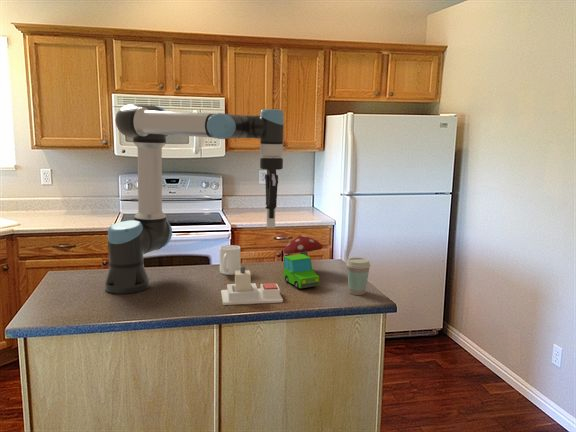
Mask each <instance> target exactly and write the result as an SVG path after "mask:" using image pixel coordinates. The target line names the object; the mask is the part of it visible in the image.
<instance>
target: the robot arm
mask: <svg viewBox="0 0 576 432" xmlns="http://www.w3.org/2000/svg"><path fill="white" fill-rule="evenodd" d="M114 121H115V126H116V128H117V130H118V132H120V133H121V134H122V135H123V136H125V137H128V138H132V143H133V144H134V146H136V148H137V197H138V198H137V200H138V203H137V204H138V205H137V206H138V207H137V208H138V209H137V210H138V211H137V213H136V214H134V217H133V218H134V219H133V220H132V219H131V220H125V221H122V220H121V221H119V222H115V223H113V224H111V225H110V226H109V227H108V229H107V248H108V249H107V250H108V262H109V263H108V265H109V266H108V272H107V274H106V279H105V281H104V290H105V292H108V293H111V294H118V295H119V294H120V295H123V294H134V293H139V292H142V291H145V290H147V289H149V287H150V278H149V276H148V274H147V271H146V268H145V266H144V255H145V254H148V253H150V252H154V251H158V250H159V251H160V249H162V248H163V247H165V246H168V244H169V243H170V242H171V239H172V237H173V228H172V225H171V224H170V222H169V221H168V220H167V215H166V213H164V212H163V184H162V183H163V179H162V177H163V169H162V168H163V161H162V160H163V157H162V154H163V152H162V151H163V150H162V149H163V147H164V146H165V145H166V143H167V137H169V136H181V137H183V136H185V137H199V138H200V137H201V138H212V139H218V140H226V139H258V140H259V139H260V141H259V142H260V144H259V156H261V157H260V159H259V162H260V163H259V166H260V167H259V168H260V169H261V170H266V174H264V180H265V181H264V182H265V210H266V229H270V228H271V229H272V228H273V229H274V228H276V208H277V200H278V187H279V185H278V184H279V175H278V174H277V170H279V171H280V170H283V168H284V158H283V155H284V151H285V150H286V148H285V146H284V128H285V127H284V125H285V122H284V112H283V111H282V109H275V108H272V109H271V108H270V109H269V108H266V109H261V110H260V114H259V115H247V114H246V115H245V114H244V115H243V114H230V113H229V114H228V113H221V112H220V113H219V112H218V113H211V112H209V113H208V112H192V111H191V112H190V111H189V112H187V111H170V110H169V111H167V110H165V109H164V108H163V107H161V106H158V105H157V106H156V105H153V104H150V105H149V104H135V103H130V104H126V105H123V106H121V108H119V109H118V111H117V112H116V114H115V120H114Z"/></svg>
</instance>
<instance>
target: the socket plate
mask: <svg viewBox="0 0 576 432" xmlns="http://www.w3.org/2000/svg"><path fill="white" fill-rule="evenodd" d="M263 284H264V283H260V285H259V287H260V288H258V286H257V284H256V283H255V282H254V283H252V282H251V291H244V292H235V283H227V284H226V289H222V290H220V294H221V301H222V305H223V306H225V305H226V306H230V305H252V304H253V305H254V304H272V303H277V304H278V303H283V302H284V299H283V297H282V295H281V290H280V289H281V288H280V287H279V285H278V283H275V285H276V287H277V289H272V290H264V288H263Z"/></svg>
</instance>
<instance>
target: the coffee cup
mask: <svg viewBox="0 0 576 432" xmlns="http://www.w3.org/2000/svg"><path fill="white" fill-rule="evenodd" d="M345 265H346V269H347V271H346V272H347V273H346V274H347V283H348V293H349V294H350V295H353V296H354V295H355V296H363V295H365V294H366V291H367V285H368V279H369V272H370V268H371V263H370V260H369V259H367V258H365V257H349V258H348V259H347V261H346V264H345Z"/></svg>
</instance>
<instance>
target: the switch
mask: <svg viewBox="0 0 576 432" xmlns="http://www.w3.org/2000/svg"><path fill="white" fill-rule="evenodd" d="M262 284H263V288H264V290H272V289H277V287H276V285H275V284H276V283H275V282H272V283H271V282H270V283H267V282H266V283H265V282H264V283H262Z"/></svg>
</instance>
